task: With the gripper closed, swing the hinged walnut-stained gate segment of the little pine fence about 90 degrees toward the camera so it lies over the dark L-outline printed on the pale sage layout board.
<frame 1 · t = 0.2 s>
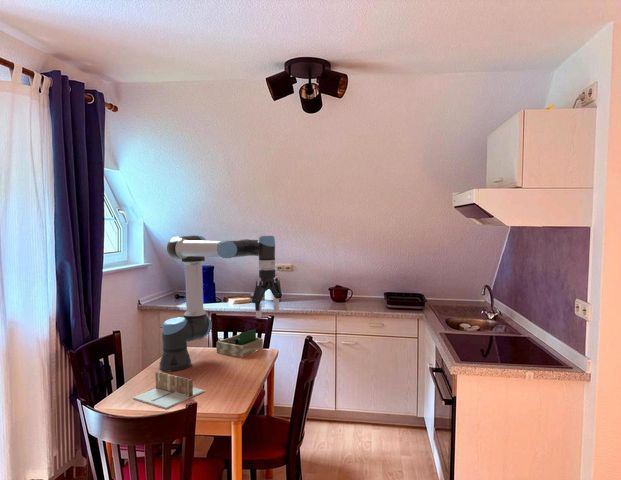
hand: (267, 314, 203), 28 cm above the table, fingers open, 13 cm apart
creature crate: (240, 350, 244), on the table
pixelated creature: (240, 351, 245), resting in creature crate
fence gate: (183, 385, 181), point 4 cm above the table, hinge at 0.0°
layout card: (169, 395, 182), on the table
fence fixed: (173, 393, 184), resting on layout card
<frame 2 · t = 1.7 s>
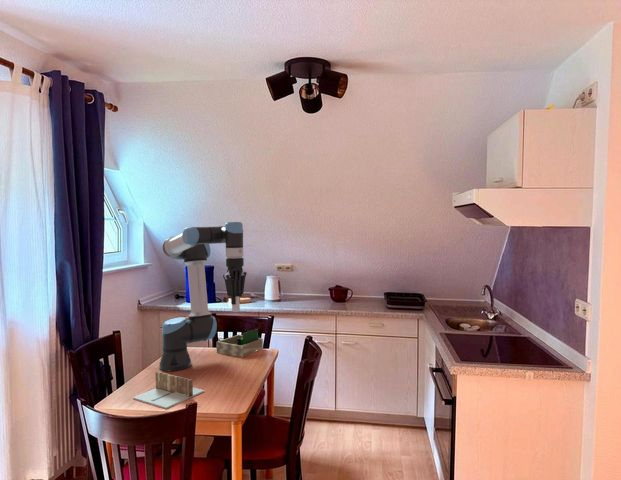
hand: (235, 311, 192), 32 cm above the table, fingers closed
pixelated creature: (243, 351, 245), resting in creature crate
everything else where it was.
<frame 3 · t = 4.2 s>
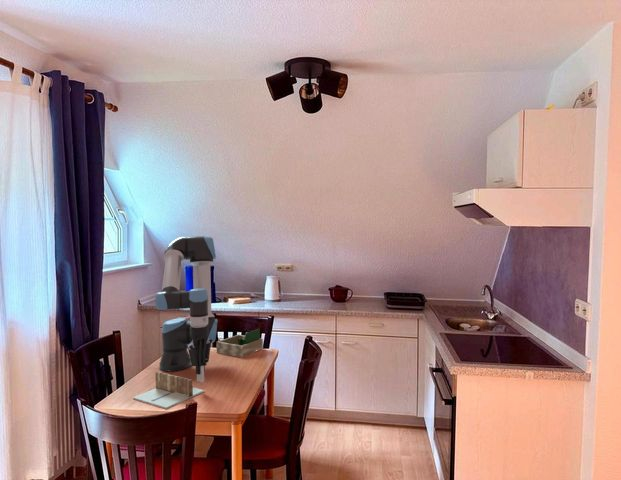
hand: (200, 381, 186), 4 cm above the table, fingers closed
pixelated creature: (244, 351, 245), resting in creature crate
everything else where it was.
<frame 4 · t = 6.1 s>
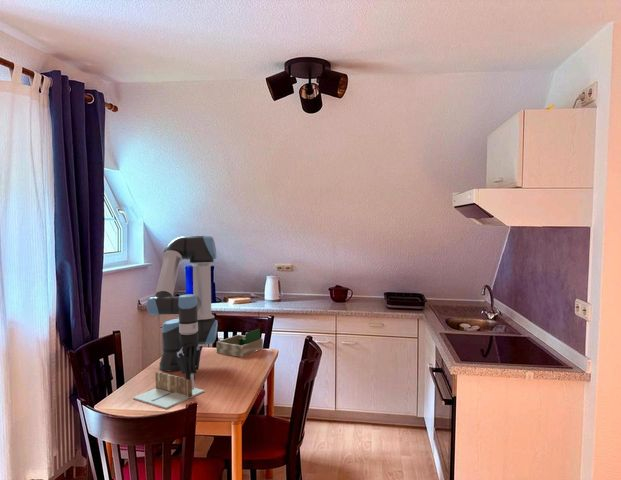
hand: (190, 388, 182), 3 cm above the table, fingers closed
fence gate: (183, 386, 180), point 4 cm above the table, hinge at -1.9°, touching gripper
everything else where it was.
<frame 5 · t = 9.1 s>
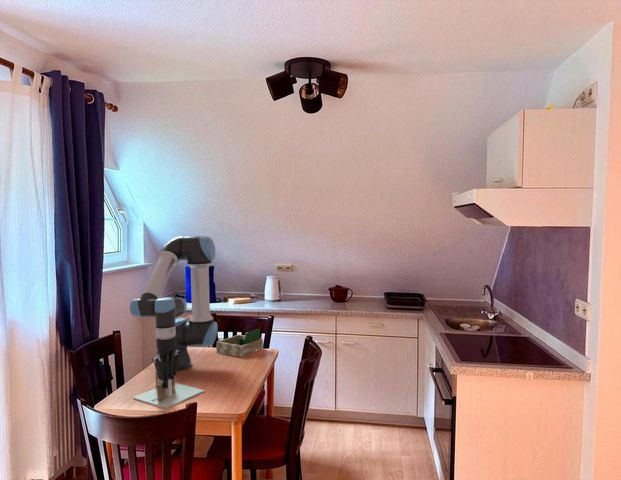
hand: (168, 395, 176), 2 cm above the table, fingers closed
fence gate: (164, 388, 178), point 4 cm above the table, hinge at -69.5°, touching gripper
everything else where it was.
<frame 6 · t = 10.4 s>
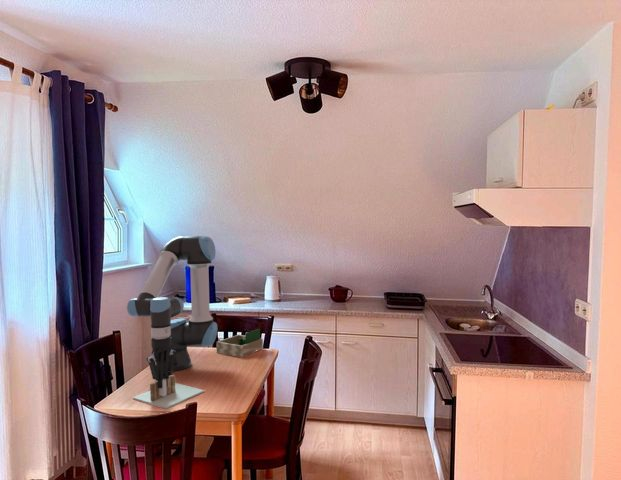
hand: (162, 395, 176), 2 cm above the table, fingers closed
fence gate: (160, 388, 178), point 4 cm above the table, hinge at -88.1°
everything else where it was.
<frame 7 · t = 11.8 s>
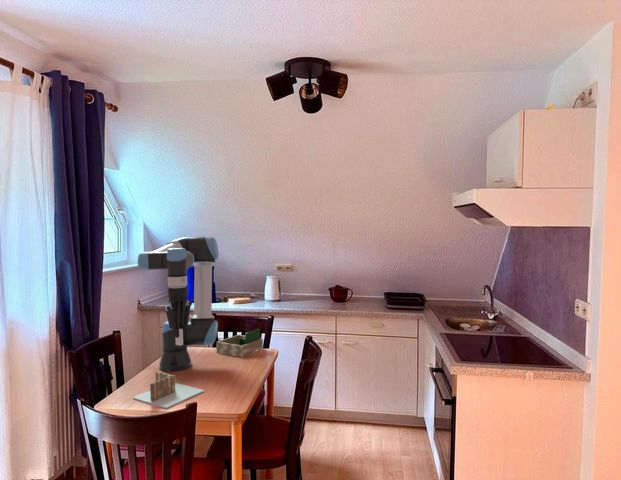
hand: (179, 344, 178), 22 cm above the table, fingers closed
nothing on the table moved.
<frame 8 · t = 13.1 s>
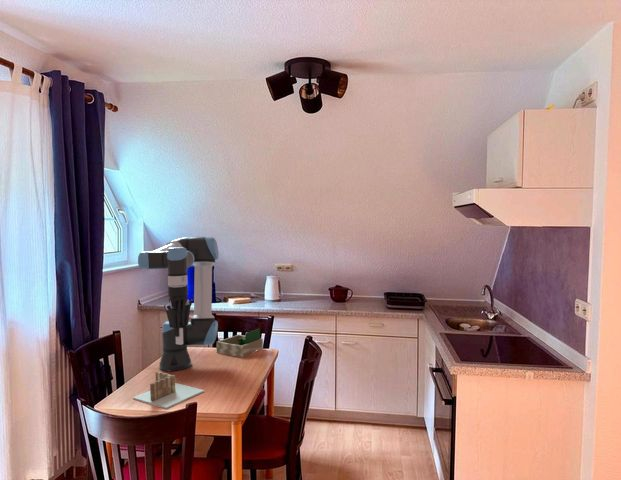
hand: (179, 343, 178), 22 cm above the table, fingers closed
nothing on the table moved.
at the end: fence gate at -88° (first picture: +0°) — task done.
